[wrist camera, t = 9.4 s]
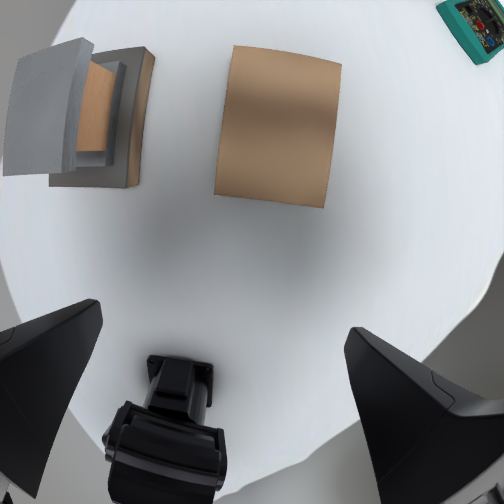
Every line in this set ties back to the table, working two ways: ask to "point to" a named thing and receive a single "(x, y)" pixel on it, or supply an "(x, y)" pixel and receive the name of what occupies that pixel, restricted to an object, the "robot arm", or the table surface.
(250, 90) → the stand
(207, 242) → the table surface
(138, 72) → the stand
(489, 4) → the digital multimeter
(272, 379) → the table surface
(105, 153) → the block
